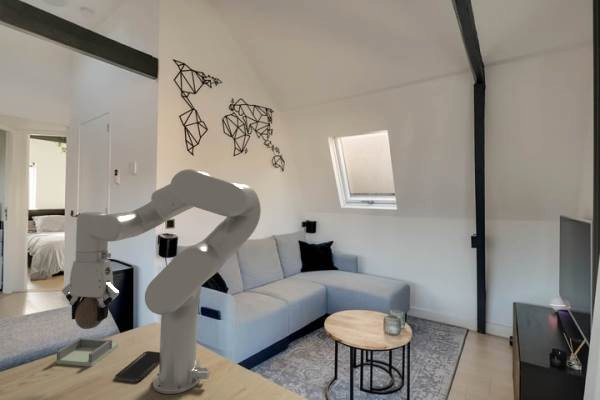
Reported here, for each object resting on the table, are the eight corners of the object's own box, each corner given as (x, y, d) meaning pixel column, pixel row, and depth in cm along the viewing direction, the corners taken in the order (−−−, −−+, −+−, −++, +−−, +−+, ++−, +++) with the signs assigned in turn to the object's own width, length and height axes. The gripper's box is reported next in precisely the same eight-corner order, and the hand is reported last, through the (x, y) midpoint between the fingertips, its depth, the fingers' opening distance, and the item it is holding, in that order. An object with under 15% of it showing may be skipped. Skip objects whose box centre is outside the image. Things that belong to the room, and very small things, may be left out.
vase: (89, 332, 86) (91, 300, 85) (68, 329, 87) (69, 298, 87) (109, 322, 92) (110, 293, 92) (89, 319, 94) (90, 290, 93)
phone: (112, 377, 87) (146, 350, 102) (112, 381, 87) (145, 354, 102) (139, 380, 86) (168, 353, 101) (139, 385, 86) (168, 356, 101)
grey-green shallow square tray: (117, 346, 105) (118, 335, 105) (91, 366, 93) (92, 354, 93) (86, 344, 106) (86, 333, 106) (56, 363, 94) (56, 351, 94)
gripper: (129, 255, 92) (127, 315, 93) (72, 251, 93) (70, 311, 94) (113, 260, 85) (110, 326, 85) (51, 257, 86) (49, 321, 86)
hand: (89, 318), depth 90 cm, fingers closed on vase, 6 cm apart
